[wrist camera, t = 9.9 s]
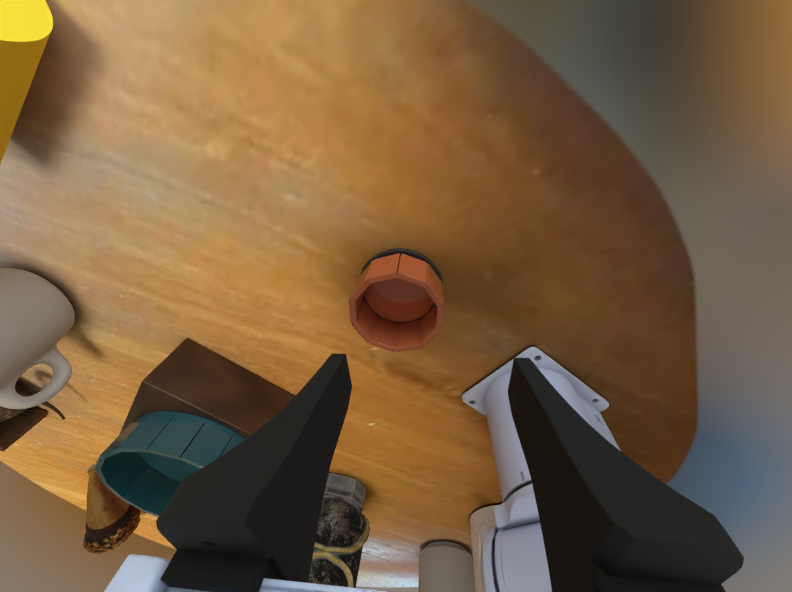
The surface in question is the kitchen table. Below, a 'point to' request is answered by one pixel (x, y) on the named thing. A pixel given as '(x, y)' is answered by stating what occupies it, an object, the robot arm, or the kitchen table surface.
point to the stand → (208, 391)
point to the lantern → (340, 533)
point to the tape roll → (19, 56)
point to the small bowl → (397, 303)
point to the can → (446, 568)
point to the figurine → (20, 419)
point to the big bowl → (161, 456)
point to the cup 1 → (31, 334)
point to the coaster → (409, 253)
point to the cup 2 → (480, 537)
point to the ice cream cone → (107, 517)
